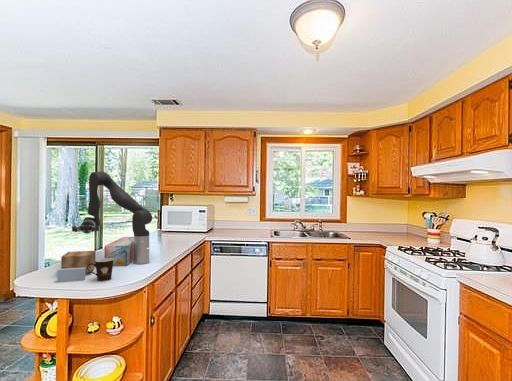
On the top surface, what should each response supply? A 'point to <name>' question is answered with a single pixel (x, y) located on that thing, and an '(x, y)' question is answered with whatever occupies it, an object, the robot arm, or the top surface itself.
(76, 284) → the top surface
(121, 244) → the soda box
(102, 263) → the coffee mug
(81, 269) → the block
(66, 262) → the wood grain cube
